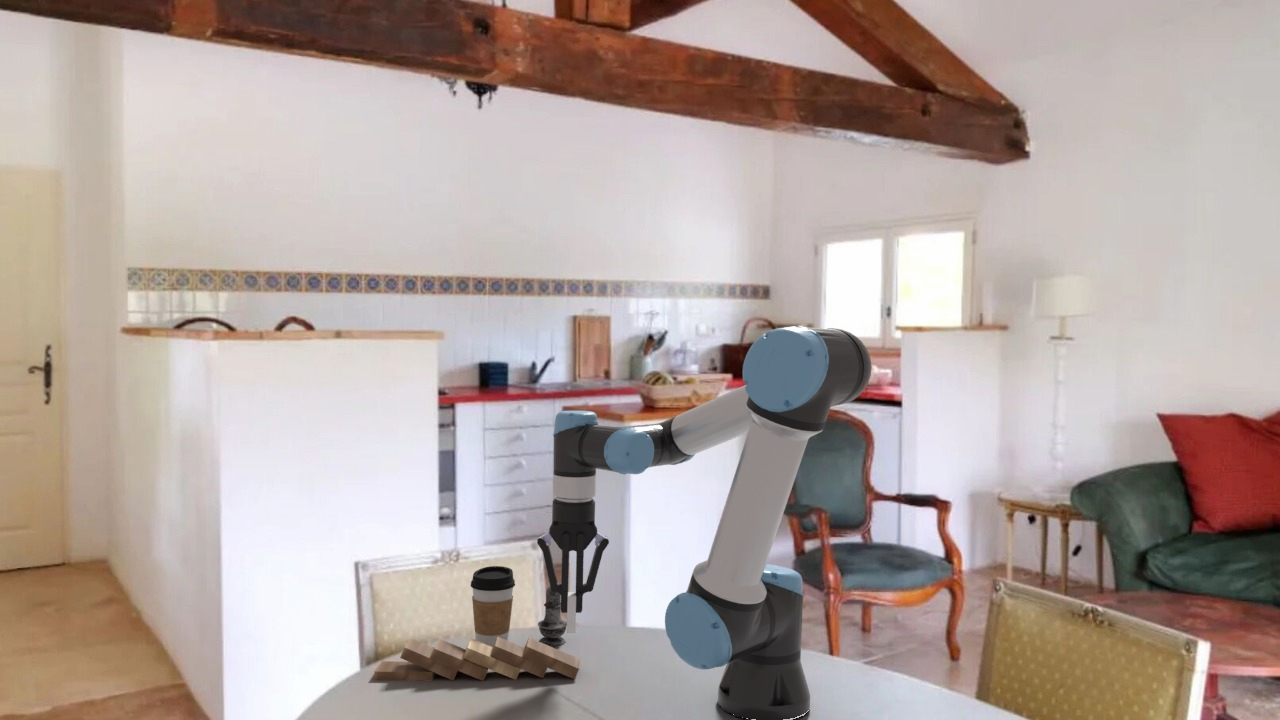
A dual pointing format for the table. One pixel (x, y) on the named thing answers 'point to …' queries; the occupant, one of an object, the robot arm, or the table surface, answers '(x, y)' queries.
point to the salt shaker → (552, 620)
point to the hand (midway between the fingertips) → (570, 630)
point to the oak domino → (488, 659)
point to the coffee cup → (492, 603)
